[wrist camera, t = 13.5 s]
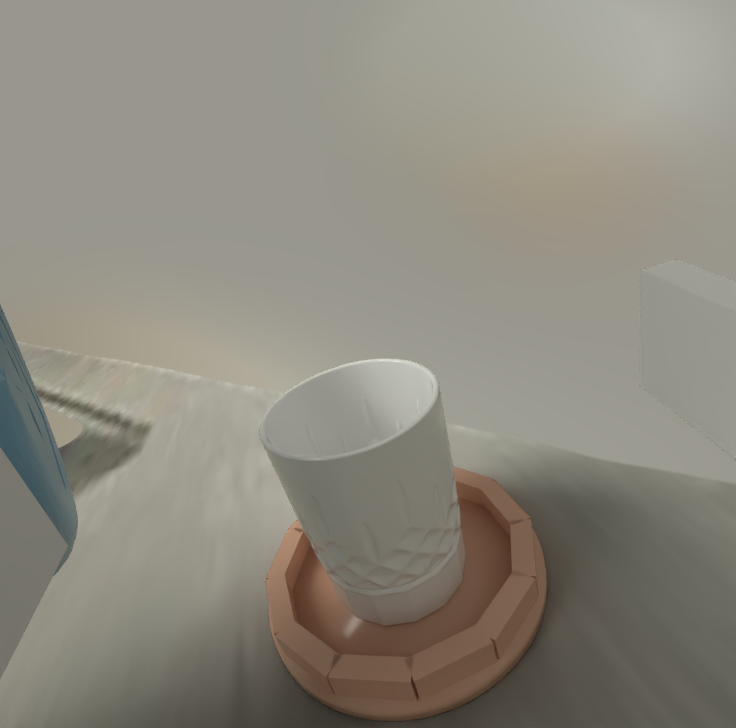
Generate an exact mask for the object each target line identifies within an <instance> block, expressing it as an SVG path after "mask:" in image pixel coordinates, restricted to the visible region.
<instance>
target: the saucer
mask: <svg viewBox="0 0 736 728" xmlns="http://www.w3.org/2000/svg"><path fill="white" fill-rule="evenodd" d="M454 473H455V481H456V492H457V496H458V501H459V508H460V525H461V530H462V536H463V541H464V546H465V552H466V559H465V567H464V575H463V581H462V582H461V584H460V585H459V587H458V588H457V589H456V591H455V592H454V594H453V595H452V596H451V598H450V599H449V601H448V602H447V603H446V605H444V606H443V607H441V608H439V609H438V610H436V611H434V612H433V613H431V614H429V615H427V616H426V617H424V618H422V619H421V620H419V621H417V622H410V623H403V624H396V625H389V626H383V625H379V624H376V623H373V622H370V621H366V620H363V619H360V618H357V617H355V616H354V614H353V613H352V612H351V611H350V610H349V609H348V608H347V607H346V606H345V605H344V604H343V603H342V602H341V600H340V599H339V598H338V596H337V594H336V592H335V590H334V588H333V585H332V583H331V581H330V579H329V577H328V574H327V572H326V570H325V569H324V567H323V566H322V564H321V563H320V561H319V559H318V557H317V556H316V554H315V552H314V550H313V548H312V546H311V543H310V541H309V539H308V537H307V536H306V534H305V532H304V530H303V528H302V526H301V524H300V522H299V520H297V521H296V522H294V523H293V524H292V525H291V526H290V528H288V530H287V532H286V535H285V537H284V539H283V541H282V543H281V545H280V548H279V550H278V552H277V554H276V556H275V559H274V561H273V563H272V565H271V567H270V569H269V572H268V574H267V576H266V580H265V581H266V588H267V594H268V600H269V623H270V629H271V633H272V637H273V641H274V643H275V645H276V648H277V650H278V652H279V655H280V657H281V659H282V661H283V663H284V665H285V666H286V668H287V669H288V671H289V672H290V674H291V675H292V677H293V678H294V680H295V681H296V682H297V683H298V684H299V685H300V686H301V687H302V688H303V689H304V690H305V691H306V692H307V693H308V694H309V695H311V696H312V697H314V698H315V699H316V700H318V701H319V702H320V703H322V704H324V705H326V706H328V707H330V708H332V709H334V710H336V711H338V712H341V713H344V714H347V715H350V716H353V717H357V718H362V719H368V720H375V721H407V720H414V719H421V718H426V717H430V716H433V715H437V714H441V713H444V712H447V711H450V710H452V709H454V708H457V707H459V706H461V705H464V704H466V703H468V702H470V701H471V700H473V699H475V698H476V697H478V696H480V695H481V694H483V693H485V692H486V691H488V690H489V689H490V688H492V687H493V686H494V685H495V684H496V683H498V682H499V681H500V680H501V679H503V678H504V677H505V676H506V675H507V674H508V673H509V672H510V671H511V670H512V669H513V667H514V666H515V665H516V664H517V663H518V662H519V661H520V660H521V658H522V657H523V655H524V654H525V652H526V651H527V650H528V648H529V647H530V645H531V643H532V641H533V639H534V637H535V635H536V633H537V631H538V629H539V627H540V624H541V621H542V618H543V614H544V611H545V606H546V599H547V573H546V566H545V561H544V556H543V550H542V547H541V545H540V542H539V539H538V537H537V534H536V533H535V531H534V529H533V527H532V522H531V519H530V517H529V516H528V515H527V514H526V512H525V511H524V510H523V509H522V508H521V507H520V506H519V505H518V504H517V503H516V502H515V501H514V500H513V499H512V498H511V497H510V496H509V494H508V493H507V492H506V491H505V490H504V489H503V488H502V487H501V486H500V485H499V484H498V483H497V482H496V481H495V480H494V481H493V479H492V478H488V477H485V476H482V475H479V474H476V473H472V472H469V471H466V470H463V469H459V468H456V467H454Z"/></svg>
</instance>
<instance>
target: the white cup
mask: <svg viewBox="0 0 736 728" xmlns="http://www.w3.org/2000/svg"><path fill="white" fill-rule="evenodd" d="M259 436H260V440H261V442H262V444H263V446H264V448H265V450H266V452H267V454H268V457H269V459H270V461H271V463H272V465H273V467H274V469H275V471H276V473H277V475H278V478H279V480H280V482H281V484H282V486H283V488H284V490H285V492H286V495H287V497H288V499H289V501H290V503H291V505H292V507H293V510H294V512H295V514H296V516H297V518H298V520H299V522H300V524H301V526H302V528H303V530H304V532H305V534H306V536H307V537H308V539H309V541H310V543H311V546H312V548H313V550H314V552H315V554H316V556H317V557H318V559H319V561H320V563H321V564H322V566H323V567H324V569H325V570H326V572H327V574H328V577H329V579H330V581H331V583H332V585H333V588H334V590H335V592H336V594H337V596H338V598H339V599H340V600H341V602H342V603H343V604H344V605H345V606H346V607H347V608H348V609H349V610H350V611H351V612H352V613H353V614H354V616H355V617H357V618H360V619H363V620H366V621H370V622H373V623H376V624H379V625H383V626H389V625H396V624H403V623H410V622H417V621H419V620H421V619H422V618H424V617H426V616H427V615H429V614H431V613H433V612H434V611H436V610H438V609H439V608H441V607H443V606H444V605H446V603H447V602H448V601H449V599H450V598H451V596H452V595H453V594H454V592H455V591H456V589H457V588H458V587H459V585H460V584H461V582H462V581H463V575H464V567H465V559H466V552H465V546H464V541H463V536H462V530H461V525H460V508H459V501H458V496H457V492H456V481H455V473H454V467H453V461H452V456H451V450H450V445H449V439H448V433H447V428H446V422H445V416H444V411H443V405H442V399H441V393H440V387H439V382H438V379H437V377H436V376H435V374H434V373H433V372H432V371H431V370H430V369H428V368H427V367H425V366H423V365H421V364H419V363H416V362H413V361H409V360H403V359H392V358H391V359H390V358H388V359H387V358H383V359H370V360H363V361H357V362H353V363H348V364H344V365H341V366H337V367H334V368H332V369H329V370H326V371H323V372H321V373H319V374H316V375H314V376H312V377H310V378H308V379H306V380H304V381H302V382H300V383H299V384H297V385H295V386H294V387H292V388H291V389H289V390H288V391H287V392H285V393H284V394H283V395H282V396H280V397H279V398H278V399H277V400H276V401H275V402H274V403H273V404H272V405H271V406H270V408H269V409H268V410H267V412H266V413H265V415H264V416H263V418H262V421H261V424H260V428H259Z"/></svg>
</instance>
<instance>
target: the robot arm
mask: <svg viewBox="0 0 736 728" xmlns="http://www.w3.org/2000/svg"><path fill="white" fill-rule="evenodd" d="M640 387H642V388H643V389H644V390H646V391H647V392H648V393H649V394H651V395H652V396H653V397H655V398H656V399H658V400H659V401H660V402H661V403H662V404H664V405H665V406H666V407H668V408H669V409H670V410H671V411H673V412H674V413H675V414H677V415H678V416H679V417H681V418H682V419H683V420H684V421H686V422H687V423H688V424H690V425H691V426H692V427H694V428H695V429H696V430H698V431H699V432H700V433H701V434H703V435H704V436H706V438H708V439H709V440H710V441H712V442H713V443H714V444H716V445H717V446H718V447H720V448H721V449H722V450H723V451H725V452H726V453H727V454H729V455H730V456H731V457H732V458H734V459H735V460H736V282H735V281H733V280H730V279H728V278H725V277H722V276H719V275H717V274H714V273H711V272H709V271H706V270H703V269H701V268H698V267H695V266H693V265H690V264H687V263H684V262H682V261H679V260H673V261H670V262H666V263H662V264H659V265H655V266H651V267H648V268H644V269H641V270H640ZM77 527H78V517H77V510H76V505H75V501H74V498H73V494H72V491H71V487H70V483H69V480H68V477H67V473H66V470H65V467H64V464H63V461H62V458H61V455H60V453H59V450H58V447H57V444H56V441H55V439H54V436H53V433H52V430H51V428H50V425H49V422H48V419H47V417H46V414H45V411H44V409H43V406H42V404H41V401H40V399H39V396H38V394H37V391H36V388H35V386H34V383H33V381H32V378H31V376H30V374H29V371H28V369H27V366H26V364H25V361H24V359H23V357H22V354H21V352H20V349H19V347H18V345H17V342H16V340H15V338H14V335H13V333H12V330H11V328H10V326H9V323H8V321H7V319H6V317H5V315H4V312H3V310H2V308H1V305H0V679H1V677H2V675H3V673H4V671H5V669H6V667H7V665H8V663H9V661H10V659H11V657H12V655H13V653H14V651H15V649H16V647H17V645H18V643H19V641H20V639H21V637H22V636H23V634H24V632H25V630H26V628H27V626H28V624H29V622H30V620H31V618H32V616H33V614H34V612H35V610H36V608H37V606H38V604H39V602H40V600H41V598H42V596H43V594H44V592H45V590H46V589H47V587H48V585H49V583H50V581H51V579H52V577H53V576H54V575H55V574H56V573H57V572H58V571H59V569H60V568H61V567H62V565H63V564H64V563H65V561H66V560H67V559H68V557H69V555H70V553H71V551H72V548H73V544H74V541H75V539H76V534H77Z"/></svg>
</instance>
